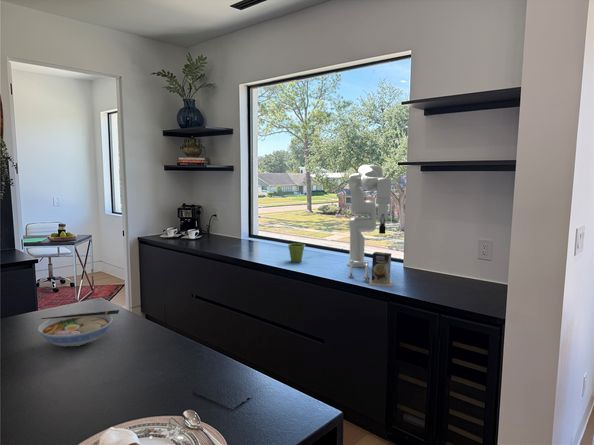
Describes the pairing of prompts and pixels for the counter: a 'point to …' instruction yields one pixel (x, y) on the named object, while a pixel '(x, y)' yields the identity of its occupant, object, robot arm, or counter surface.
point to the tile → (381, 283)
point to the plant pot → (296, 252)
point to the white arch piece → (365, 270)
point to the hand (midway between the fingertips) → (382, 232)
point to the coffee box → (381, 267)
